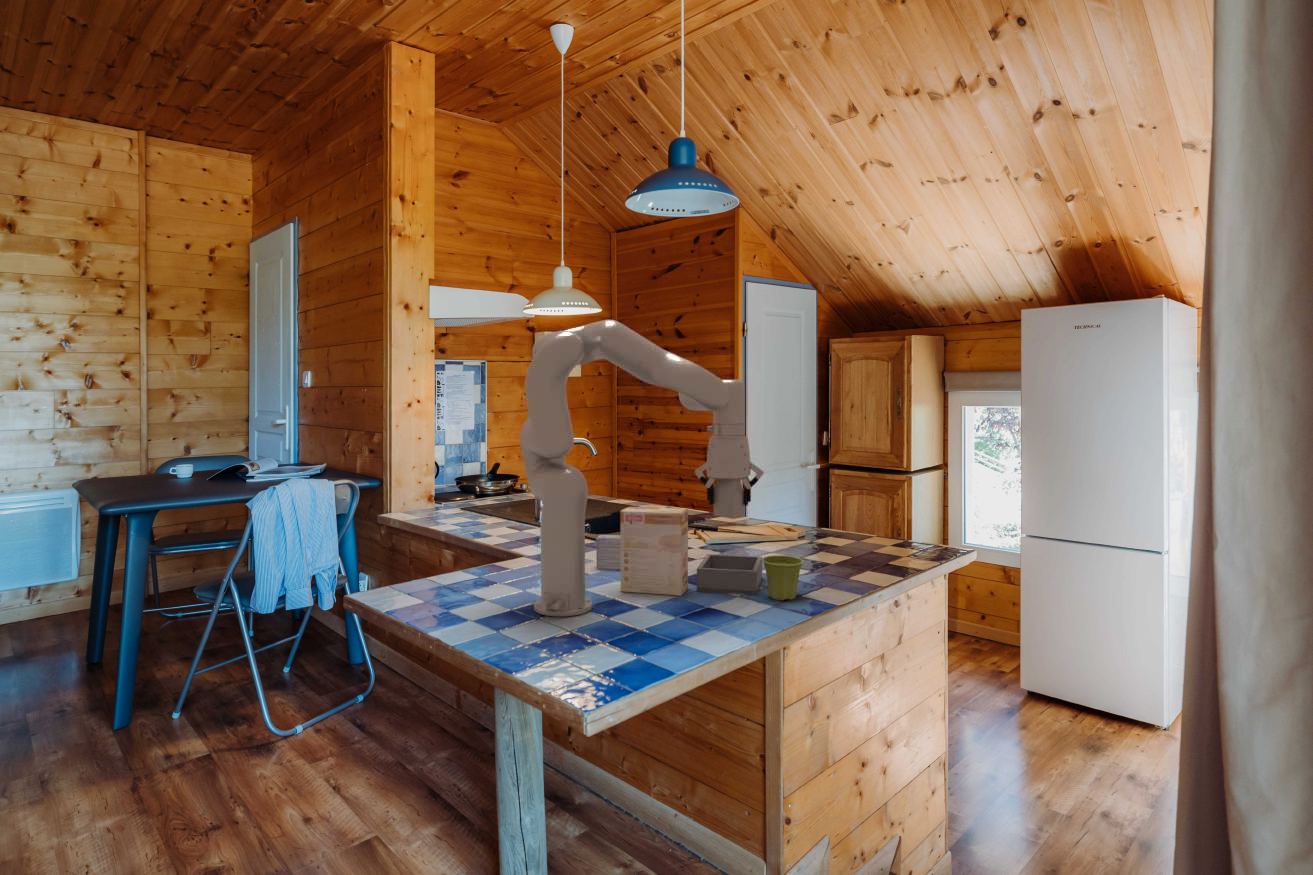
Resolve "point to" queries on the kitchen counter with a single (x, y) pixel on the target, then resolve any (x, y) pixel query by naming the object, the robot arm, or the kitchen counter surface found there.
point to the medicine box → (608, 552)
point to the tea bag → (729, 498)
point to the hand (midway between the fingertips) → (728, 503)
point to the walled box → (729, 574)
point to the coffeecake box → (654, 550)
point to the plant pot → (782, 576)
